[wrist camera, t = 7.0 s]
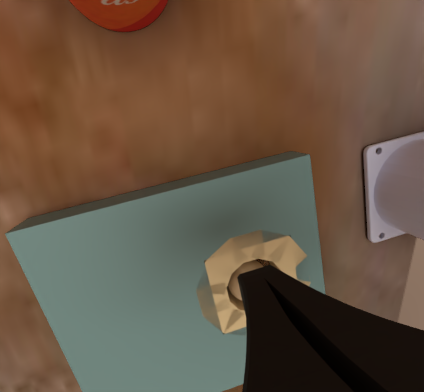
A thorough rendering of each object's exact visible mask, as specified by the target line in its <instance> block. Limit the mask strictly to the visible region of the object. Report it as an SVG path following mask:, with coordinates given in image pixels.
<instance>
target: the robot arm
mask: <svg viewBox="0 0 424 392" xmlns="http://www.w3.org/2000/svg"><path fill="white" fill-rule="evenodd" d="M377 148H378V152H377V153H376V149H377ZM363 157H364V176H365V195H366V215H367V234H368V240H369V241H371V242H373V243H377V242H380V241H383V240H386V239H389V238H392V237H396V236H399V235H402V234H405V233H408V234H411V235H413V236H415V237H418V238H420V239H423V240H424V131H422V132H419V133H415V134H411V135H407V136H403V137H400V138H396V139H392V140H388V141H384V142H381V143H377V144H373V145H369V146H367V147H366V148H365V149H364V152H363ZM380 233H381V235H380ZM379 235H380V236H379ZM237 279H238V283H239V288H240V293H241V297H242V302H243V306H244V311H245V315H246V330H247V341H246V362H245V373H244V383H243V391H242V392H424V330H420V329H417V328H413V327H410V326H407V325H403V324H400V323H397V322H394V321H391V320H388V319H385V318H382V317H379V316H376V315H374V314H371V313H368V312H366V311H363V310H360V309H357V308H355V307H352V306H350V305H348V304H345V303H343V302H341V301H339V300H336V299H334V298H332V297H330V296H328V295H325V294H323V293H321V292H319V291H317V290H315V289H313V288H311V287H309V286H307V285H306V284H304V283H302V282H300V281H298V280H296V279H295V278H293V277H291V276H289V275H287V274H286V273H284V272H282V271H281V270H279V269H277V268H275V267H274V266H272V265H267V266H264V267H261V268H258V269H254V270H251V271H248V272H245V273H242V274H239V276H238V277H237Z"/></svg>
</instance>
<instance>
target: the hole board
mask: <svg viewBox="0 0 424 392" xmlns="http://www.w3.org/2000/svg"><path fill="white" fill-rule="evenodd" d="M5 234H6V237H7V239H8V241H9V243H10V245H11V247H12V249H13V251H14V253H15V255H16V257H17V259H18V261H19V263H20V265H21V267H22V269H23V271H24V273H25V275H26V277H27V279H28V281H29V283H30V286H31V288H32V290H33V292H34V294H35V296H36V298H37V300H38V302H39V304H40V306H41V308H42V310H43V312H44V314H45V316H46V318H47V320H48V322H49V324H50V326H51V328H52V330H53V332H54V334H55V337H56V339H57V341H58V343H59V345H60V347H61V349H62V351H63V353H64V355H65V357H66V359H67V361H68V363H69V365H70V367H71V369H72V371H73V373H74V375H75V377H76V379H77V381H78V383H79V385H80V388H81V390H82V392H222V391H224V390H227V389H230V388H233V387H235V386H238V385H241V384H243V383H244V373H245V362H246V341H247V330H246V315H245V311H244V306H243V302H242V301H241V300H239V299H237V298H236V297H235V296H234V295H233V294H232V293H231V292H230V290H229V287H228V283H229V280H230V277H231V274H232V273H233V272H234V271H235V270H236V269H238V268H239V267H240V266H241V265H242V264H243V263H245V262H249V261H252V260H255V259H263V260H268V261H269V264H270V265H272V266H274V267H275V268H277V269H279V270H281V271H282V272H284V273H286V274H287V275H289V276H291V277H293V278H295V279H296V280H298V281H300V282H302V283H304V284H306V285H307V286H309V287H311V288H313V289H315V290H317V291H319V292H321V293H323V294H325V286H324V277H323V268H322V259H321V250H320V241H319V232H318V223H317V214H316V205H315V196H314V187H313V178H312V169H311V160H310V154H304V153H299V152H293V151H290V152H286V153H282V154H278V155H274V156H270V157H266V158H262V159H258V160H254V161H250V162H246V163H243V164H239V165H235V166H231V167H227V168H223V169H219V170H215V171H211V172H207V173H203V174H200V175H196V176H192V177H188V178H184V179H180V180H176V181H172V182H168V183H164V184H160V185H157V186H153V187H149V188H145V189H141V190H137V191H133V192H129V193H125V194H121V195H117V196H113V197H110V198H106V199H102V200H98V201H94V202H90V203H86V204H82V205H78V206H74V207H70V208H67V209H63V210H59V211H55V212H51V213H47V214H43V215H39V216H35V217H31V218H27V219H26V220H25V221H23V222H22V223H20V224H19V225H17V226H16V227H14V228H13V229H11V230H10V231H8V232H7V233H5Z"/></svg>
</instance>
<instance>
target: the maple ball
mask: <svg viewBox="0 0 424 392" xmlns="http://www.w3.org/2000/svg"><path fill="white" fill-rule="evenodd" d="M261 267H264V266H263V265H262V264H261V263H260V262H258V261H257V260H252V261H249V262H245V263H243V264H242V265H241V266H240V267H239V268H238V269H236V270H235V271H234V272H233V273H232V274H231V277H230V280H229V283H228V287H229V290H230V292H231V293H232V294H233V295H234V296H235V297H236V298H237V299H239V300H241V301H242V297H241V293H240V288H239V283H238V279H237V277H238V276H239V274H242V273H245V272H248V271H251V270H254V269H258V268H261Z"/></svg>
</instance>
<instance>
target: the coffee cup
mask: <svg viewBox="0 0 424 392" xmlns="http://www.w3.org/2000/svg"><path fill="white" fill-rule="evenodd" d="M69 1H70V2H71V3H72V4H73V5H74V6H75V7H76V8H77V9H78V10H79V11H80V12H81V13H82V14H83V15H84V16H86V17H87V18H88V19H90V20H91V21H92V22H94V23H96V24H98V25H99V26H101V27H104V28H106V29H109V30H113V31H119V32H130V31H136V30H139V29H142V28H144V27H146V26H148V25H149V24H151V23H152V22H153V21H155V20H156V19H157V18H158V16H159V15H160V14H161V13H162V11H163V9H164V8H165V6H166V4H167V2H168V0H69Z"/></svg>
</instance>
